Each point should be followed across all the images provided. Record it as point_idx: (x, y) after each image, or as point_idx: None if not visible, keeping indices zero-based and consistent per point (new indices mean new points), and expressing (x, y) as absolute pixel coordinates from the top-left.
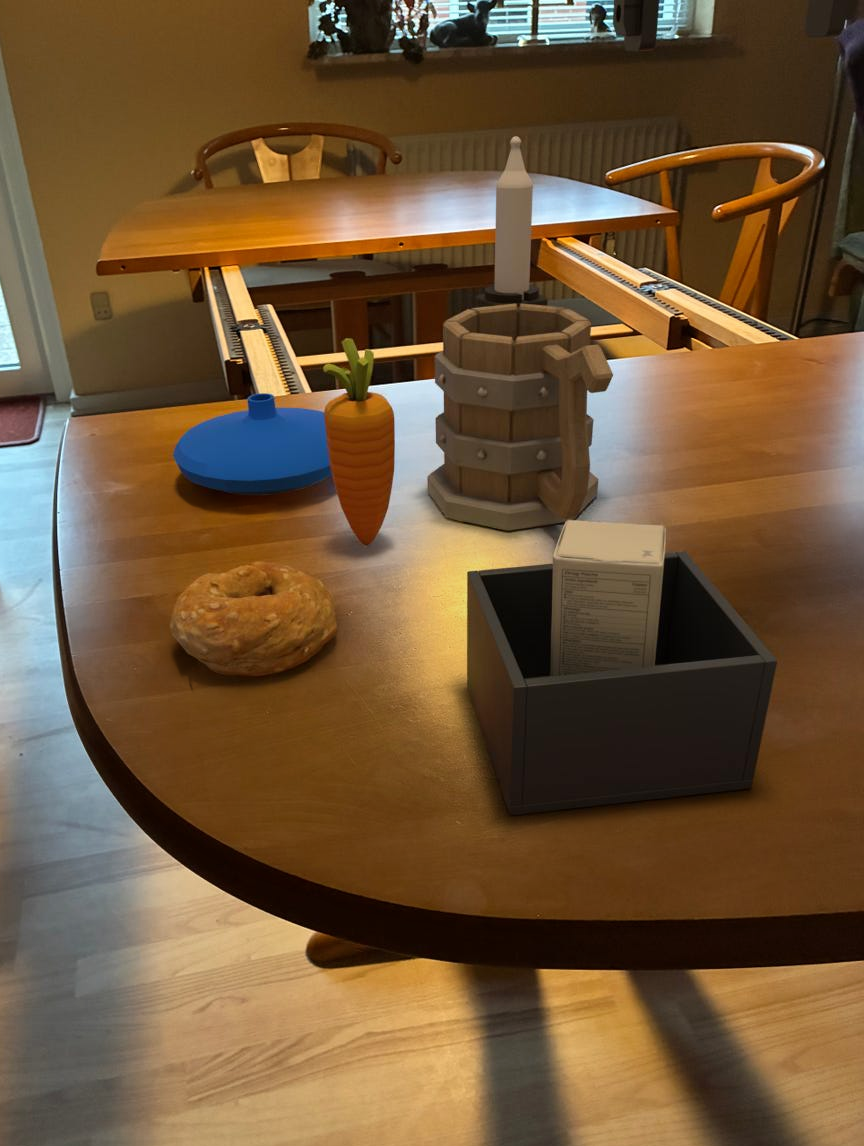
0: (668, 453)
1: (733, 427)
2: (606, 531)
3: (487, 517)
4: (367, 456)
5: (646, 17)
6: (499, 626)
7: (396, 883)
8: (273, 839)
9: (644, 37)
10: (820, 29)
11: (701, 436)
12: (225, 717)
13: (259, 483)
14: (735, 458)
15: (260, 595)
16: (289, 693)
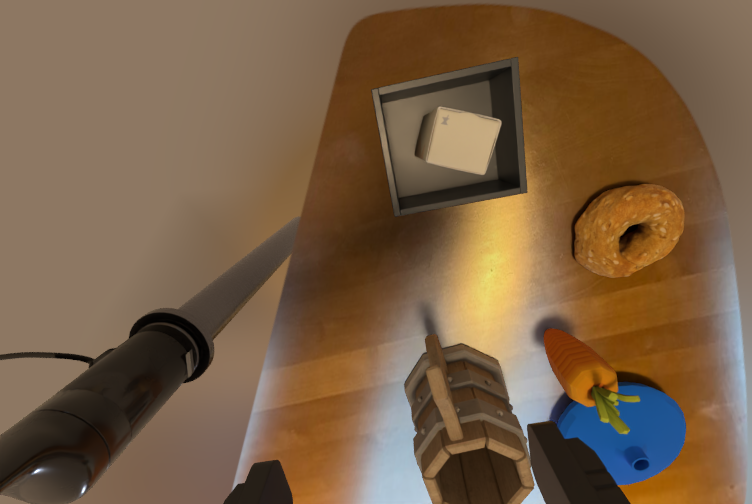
0: (353, 435)
1: (308, 467)
2: (464, 152)
3: (475, 352)
4: (576, 351)
5: (563, 447)
6: (517, 125)
7: (551, 21)
8: (610, 51)
9: (552, 426)
10: (280, 478)
11: (329, 456)
12: (635, 152)
13: (624, 384)
14: (315, 426)
15: (625, 247)
16: (599, 175)
